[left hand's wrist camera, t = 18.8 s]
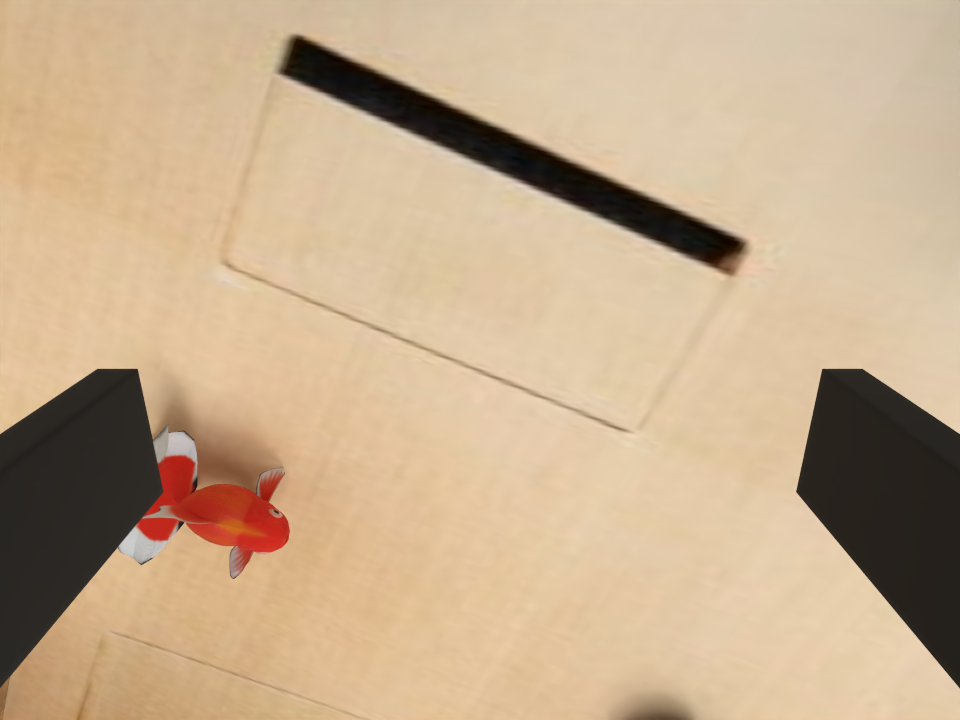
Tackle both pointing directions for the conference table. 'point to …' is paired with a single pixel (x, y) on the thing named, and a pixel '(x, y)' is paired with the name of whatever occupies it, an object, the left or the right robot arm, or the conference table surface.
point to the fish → (207, 509)
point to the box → (3, 697)
